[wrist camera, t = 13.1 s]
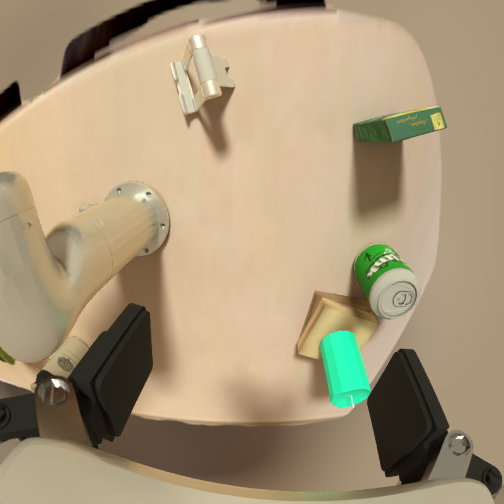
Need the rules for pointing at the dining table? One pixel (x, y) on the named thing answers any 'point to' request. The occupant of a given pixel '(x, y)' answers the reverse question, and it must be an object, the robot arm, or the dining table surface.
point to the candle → (344, 369)
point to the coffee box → (401, 125)
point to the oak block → (335, 326)
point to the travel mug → (63, 360)
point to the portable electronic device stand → (200, 75)
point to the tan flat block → (346, 300)
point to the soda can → (386, 281)
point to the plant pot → (7, 357)
